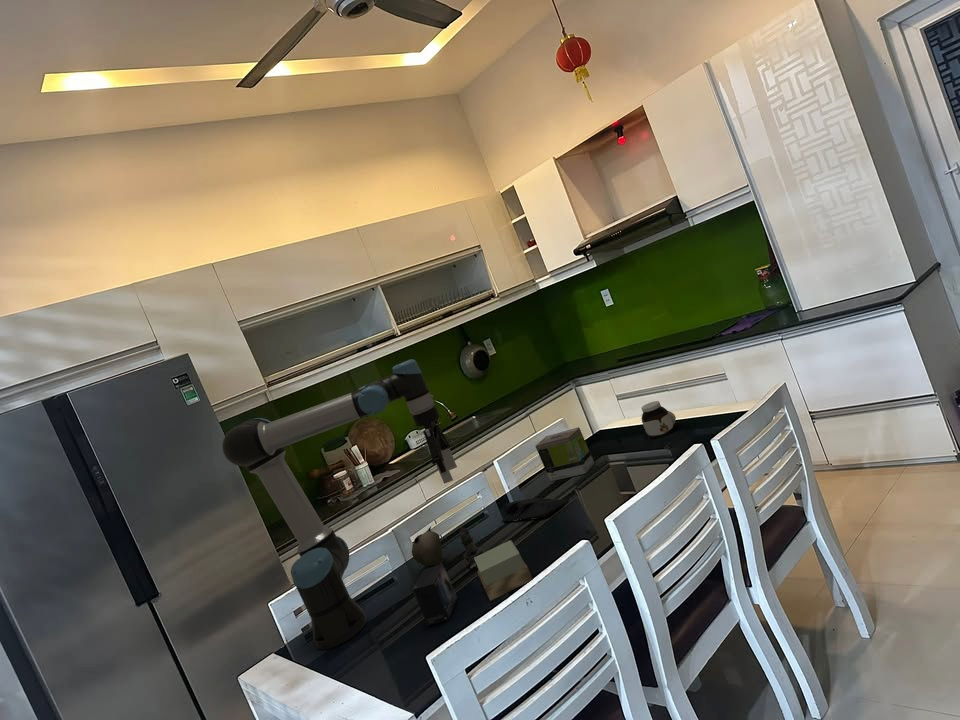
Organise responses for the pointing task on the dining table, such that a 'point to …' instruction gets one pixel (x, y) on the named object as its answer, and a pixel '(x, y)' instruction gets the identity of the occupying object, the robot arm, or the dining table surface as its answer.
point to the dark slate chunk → (532, 508)
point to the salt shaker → (469, 546)
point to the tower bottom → (507, 583)
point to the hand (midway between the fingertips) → (450, 475)
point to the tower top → (499, 562)
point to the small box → (435, 595)
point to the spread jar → (657, 419)
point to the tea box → (565, 454)
